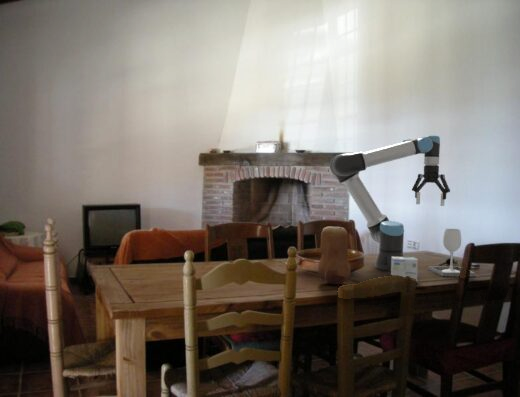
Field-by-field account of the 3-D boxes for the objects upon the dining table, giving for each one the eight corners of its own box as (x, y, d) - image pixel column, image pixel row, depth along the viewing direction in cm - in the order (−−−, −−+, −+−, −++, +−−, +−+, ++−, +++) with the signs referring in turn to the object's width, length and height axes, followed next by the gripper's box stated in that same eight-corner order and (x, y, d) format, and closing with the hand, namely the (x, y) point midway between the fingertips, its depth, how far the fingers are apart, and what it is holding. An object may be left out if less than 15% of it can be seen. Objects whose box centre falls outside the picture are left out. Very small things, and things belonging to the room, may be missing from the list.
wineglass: (437, 271, 241) (439, 228, 240) (451, 270, 245) (452, 228, 244) (450, 274, 233) (452, 230, 232) (464, 273, 237) (466, 230, 236)
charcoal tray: (442, 276, 230) (442, 272, 230) (428, 269, 246) (428, 266, 246) (475, 276, 231) (475, 272, 231) (458, 269, 247) (458, 266, 247)
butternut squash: (340, 279, 219) (341, 224, 217) (355, 286, 206) (357, 227, 205) (312, 281, 214) (313, 224, 213) (326, 288, 201) (328, 228, 200)
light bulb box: (414, 280, 221) (415, 256, 220) (417, 283, 214) (418, 259, 214) (390, 279, 222) (390, 255, 221) (392, 282, 215) (393, 258, 215)
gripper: (457, 165, 254) (456, 206, 255) (413, 165, 271) (411, 203, 272) (451, 165, 248) (449, 206, 249) (406, 164, 266) (405, 203, 267)
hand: (429, 205), depth 261 cm, fingers open, 13 cm apart
